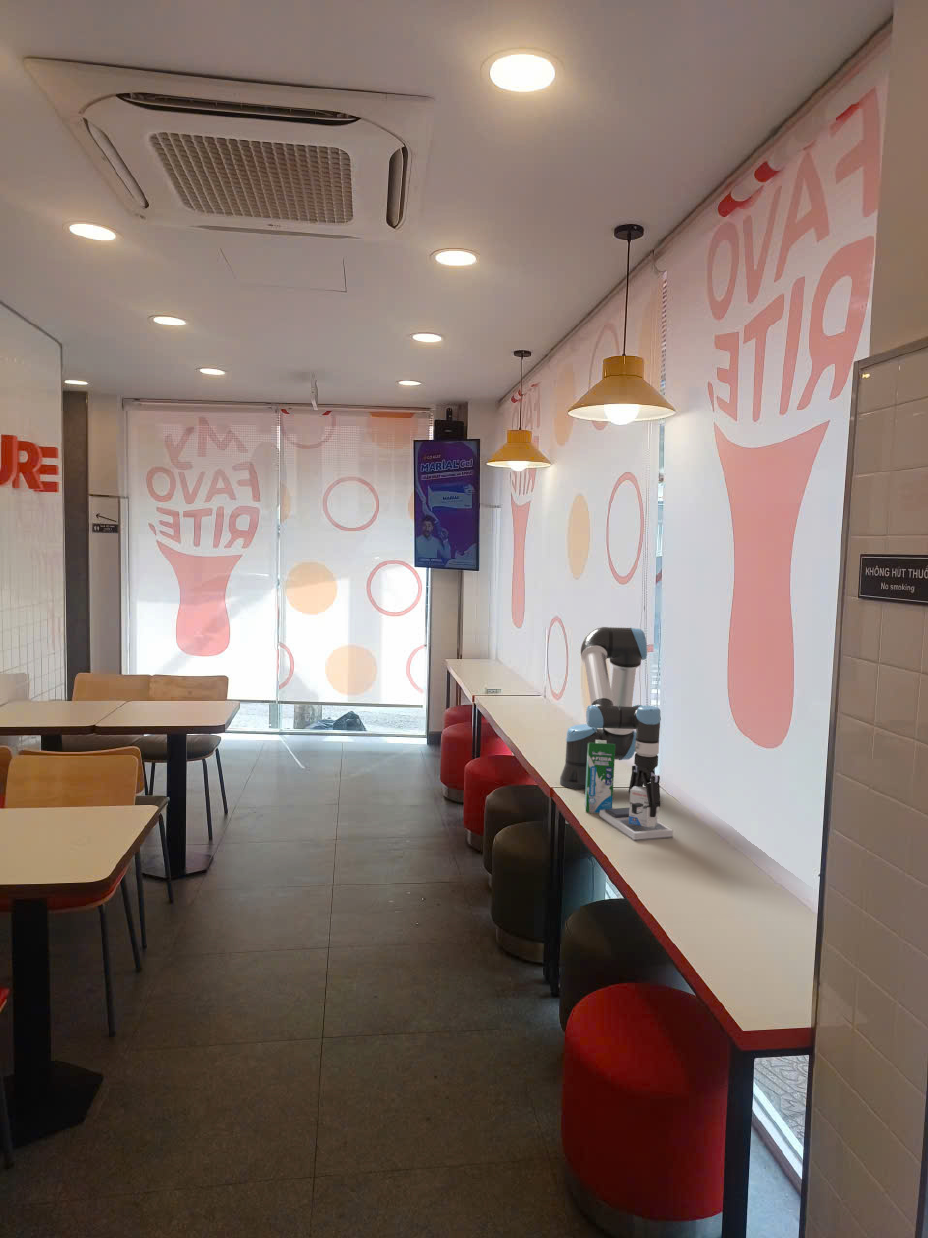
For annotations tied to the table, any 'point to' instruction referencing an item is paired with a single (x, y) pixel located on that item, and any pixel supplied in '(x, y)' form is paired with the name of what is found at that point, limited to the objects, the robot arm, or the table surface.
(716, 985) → the table surface
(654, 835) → the socket plate
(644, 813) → the ink box
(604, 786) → the milk carton
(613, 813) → the phone slab
